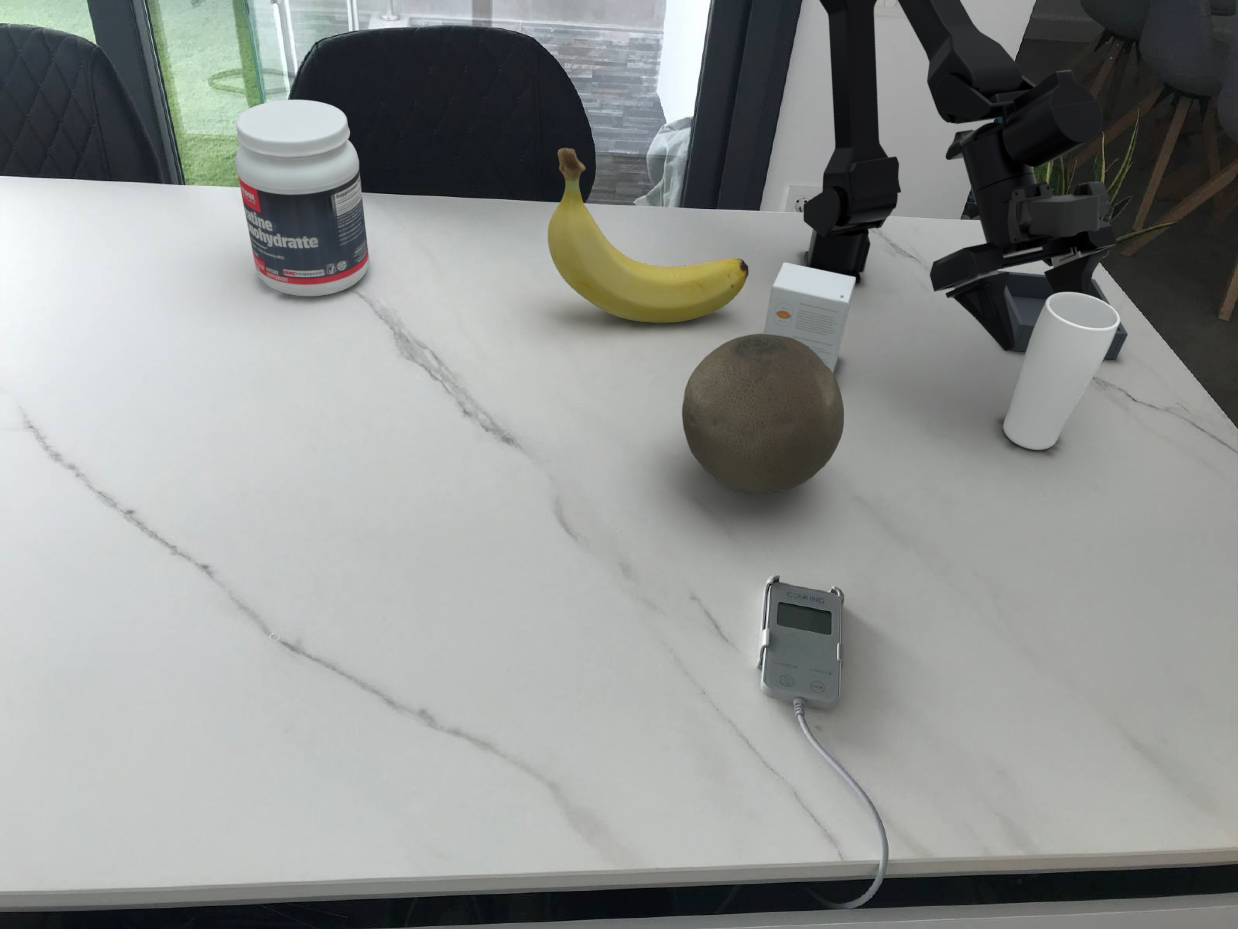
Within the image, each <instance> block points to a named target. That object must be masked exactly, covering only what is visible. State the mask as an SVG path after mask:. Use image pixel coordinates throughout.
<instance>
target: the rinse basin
mask: <svg viewBox="0 0 1238 929" xmlns="http://www.w3.org/2000/svg"><path fill="white" fill-rule="evenodd" d="M997 271H998V274H1000V273H1005V272H1009V277H1008V280H1007V284H1006V287H1005V291H1004V294H1005V299H1006V303H1007V307H1008V311H1009V316H1010V320H1011V324H1012V328H1013V333H1014V340H1015V348H1014V349H1012V350H1011V351H1015V352H1025V353H1026V350H1027V347H1028V344H1029V341H1030V338H1031V335H1032V332H1033V329H1034V327H1035V324H1036V322H1037V319H1038V317H1039V315H1040V313H1041V310H1042V308H1043V306H1044V304H1045V302H1046V300H1047V298H1048V297H1049V296H1051V295H1053V294H1054V292H1053V290H1052V288H1051V286H1050V284H1049V282H1048V280H1047V278H1046V276H1045V274H1040V273H1029V272H1017V271H1005V270H997ZM1089 296H1092V297H1095V298H1098V299H1100V300H1102V301H1104V302H1106V303H1107V304H1109V305H1110V306H1111V307H1112V305H1111V304H1110V302H1109V300H1108V298H1107V297H1106V295H1105V293H1104V291H1103V290H1102V289H1101V287H1100V285H1099V284H1098V281H1097V280H1096V279H1095V278H1092V280H1091V286H1090V294H1089ZM1128 334H1129V333H1128V332H1127V330H1126V328H1125V327H1124V325H1123V323H1122V321H1120V323H1119V325H1118V328H1117V330H1116V333H1115V335H1114V338H1113V340H1112V342H1111V345H1110V347H1109V349H1108V351H1107V353H1106V355H1105V357H1104V359H1103V360H1114V361H1116V360H1117V358H1118V356H1119V354H1120V352H1121V350H1122V348H1123V345H1124V344H1125V342H1126V339H1127V338H1128Z"/></svg>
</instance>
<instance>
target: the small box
mask: <svg viewBox="0 0 1238 929" xmlns="http://www.w3.org/2000/svg"><path fill="white" fill-rule="evenodd" d="M855 282H856V277H852V276H847V275H842V274H838V273H833V272H828V271H823V270H819V269H814V268H809V267H806V266H805V265H799V264H794V263H791V262H790V263H789V262H785V261H784V262H782V265H781V266H780V269H779V271H778V273H777V275H776V277H775V279H774V281H773V284H772V285H771V289H770V296H769V302H768V309H767V313H766V318H765V324H764V328H763V329H764V330H763V334H769V335H778V336H785V337H790V338H793V339H795V340H797V341H799V342H802V343H803V344H805V345H806V346H808V347H809V348H810V349H812V350H813V351H814V352H815V353H816V354H817V355H818V356H819V357H820V359H821V360H822V361H823V362H824V364H825V365H826V366H827V367H829V368H830V370H831V371H832V373H833V374H834V371H835V368H836V365H837V361H838V358H839V354H840V350H841V345H842V342H843V337H844V333H845V329H846V325H847V321H848V316H849V311H850V308H851V303H852V298H853V294H854V290H855V285H856V283H855Z"/></svg>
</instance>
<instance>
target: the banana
mask: <svg viewBox="0 0 1238 929" xmlns="http://www.w3.org/2000/svg"><path fill="white" fill-rule="evenodd" d="M557 157H558V162H559V167H558V170H559V171H560V172H561V174H562V175H563V177H564V182H565V186H564V187H565V188H564V191H563V195H562V198H561V200H560V202H559V204H558V205H557V207H556V208H555V210H554V211H553V213H552V215H551V217H550V220H549V223H548V227H547V245H548V250H549V255H550V257H551V260H552V263H553V264H554V267H555V268H556V270H557V271H558V274H559V275H560V277H562V279H563V280H564V282H565V283H566V284H568V286H569V287H570V288H571V289H573V290H574V291H575V292H576V294H578V295H579V296H580V297H582V298H584V300H586V301H587V302H589V303H590V304H592V305H593V306H595V307H596V308H599V309H600V310H602V311H604V312H606V313H608V314H610V315H613V316H614V317H618V318H621V319H625V320H628V321H633V322H642V323H657V324H659V323H660V324H663V323H681V322H686V321H690V320H695V319H698V318H703V317H704V316H709V315H711V314H713V313H715V312H718V311H719V310H720V309H723V308H724V307H725V306H726V305H728V304H729V303H730V302H732V301H733V300H734V299H735V298H736V297H737V296H738V295H739V294H740V292H741V291H742V289H743V288H744V286H745V283H746V281H747V279H748V277H749V274H750V272H749V266H748V264H747V263H746V261H744V259H742V258H726V259H718V260H710V261H705V262H700V263H696V264H689V265H681V266H661V265H653V264H648V263H645V262H641V261H637V260H636V259H633V258H631V257H629V256H627V255H626V254H624V253H623V252H622V251H620V250H619V249H618V248H616V247H615V246H614V245H613V244H612V243H611V241H610V240H608V239H607V237H606V236H605V234H604V233H603V232H602V230H601V228H600V227H599V225H598V224H597V222H596V220H595V219H594V217H593V216H592V214H591V212H590V211H589V209H588V208H587V207H586V205H585V203H584V201H583V197H582V194H581V190H580V189H581V188H580V177H581V173H582V172H584V171H586V166H585V165H584V163H582V161H580V160H579V159H578V156H577V153H576V150H575V149H574V148H568V147H562V148H560V149H558V150H557Z"/></svg>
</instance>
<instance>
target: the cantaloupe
mask: <svg viewBox="0 0 1238 929" xmlns="http://www.w3.org/2000/svg"><path fill="white" fill-rule="evenodd" d="M683 393H684V394H683V401H682V408H681V418H682V419H681V420H682V427H683V432H684V435H685V438H686V442H687V446H688V448H689V450H690V452H691V454H692V456H693V457H694V459H696V461H697V462H698V463H699V464H700V465H701V467H702V468H703V469H704V470H705V471H706V472H707V473H709V474H710V475H711V476H713V477H714V478H715V479H716V480H717V481H719V482H720V483H722V484H724V485H725V486H728V487H731V488H733V489H735V490H737V491H738V490H739V491H740V492H741V491H742V492H747V493H752V494H753V493H754V494H773V493H781V492H784V491H789V490H791V489H793V488H796V487H798V486H801V485H802V484H805V483H806V482H808V481H809V480H811V479H812V478H813V477H814V476H816V474H817V473H819V472H820V471H821V470H822V469H823V468H824V467H825V466H826V465H827V463H828V462H829V461H830V460H831V458H832V457H833V455H834V454H835V452H836V450H837V448H838V446H839V444H840V442H841V439H842V437H843V436H842V435H843V432H844V425H845V408H844V401H843V396H842V393H841V388H840V386H839V383H838V379H837V378H836V376H835V374H834V372H833V373H832V371H831V370H830V368H829V367H827V366H826V365H825V364H824V362H823V361H822V360H821V359H820V357H819V356H818V355H817V354H816V353H815V352H814V351H813V350H812V349H810V348H809V347H808V346H806V345H805V344H803V343H802V342H799V341H797V340H795V339H793V338H790V337H785V336H778V335H769V334H764V333H753V334H746V335H742V336H739V337H738V336H737V337H735V338H732V339H731V340H728V341H726V342H724V343H722V344H721V345H719V346H718V347H717V348H715V349H713V350H712V351H711V352H710V353H708V354H707V355H706V356H705V357H704V358H703V359H702V360H701V361H700V362H699V363H698V365H697V366H696V367H695V368H694V370H693V371H692V372H691V374H690V376H689V378H688V380H687V383H686V386H685V388H684V392H683Z"/></svg>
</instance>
